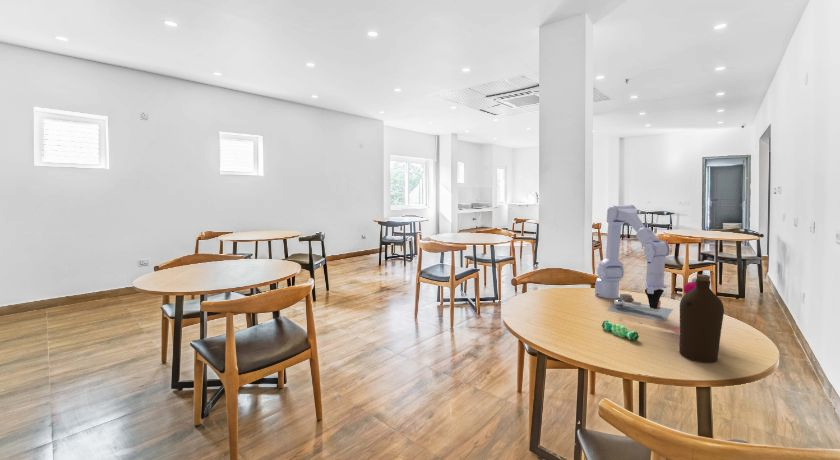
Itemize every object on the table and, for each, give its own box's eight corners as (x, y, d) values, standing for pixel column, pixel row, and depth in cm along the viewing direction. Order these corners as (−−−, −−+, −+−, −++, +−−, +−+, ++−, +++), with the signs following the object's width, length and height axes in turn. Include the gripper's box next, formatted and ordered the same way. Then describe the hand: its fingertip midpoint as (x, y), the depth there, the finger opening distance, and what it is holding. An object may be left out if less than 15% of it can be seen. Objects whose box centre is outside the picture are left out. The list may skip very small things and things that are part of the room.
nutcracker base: (606, 313, 153) (606, 301, 153) (619, 302, 166) (619, 292, 166) (663, 324, 140) (664, 312, 139) (672, 312, 153) (673, 300, 152)
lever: (612, 304, 156) (613, 294, 155) (615, 302, 159) (616, 292, 158) (658, 313, 144) (659, 302, 144) (661, 310, 148) (661, 300, 147)
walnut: (623, 304, 159) (623, 296, 159) (625, 302, 162) (626, 295, 162) (632, 306, 157) (633, 298, 157) (634, 304, 160) (635, 296, 159)
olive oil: (718, 367, 106) (724, 281, 104) (673, 356, 114) (678, 276, 111) (721, 355, 114) (728, 274, 111) (680, 345, 121) (684, 269, 118)
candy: (600, 327, 136) (605, 317, 136) (605, 331, 137) (611, 321, 137) (629, 340, 125) (634, 329, 125) (634, 344, 126) (640, 333, 126)
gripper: (663, 278, 134) (661, 315, 136) (671, 271, 145) (669, 305, 146) (641, 275, 139) (639, 311, 140) (650, 268, 149) (648, 301, 151)
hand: (653, 308), depth 144 cm, fingers closed
